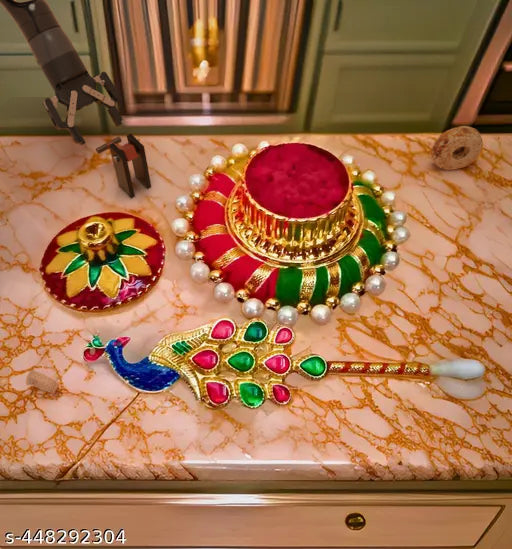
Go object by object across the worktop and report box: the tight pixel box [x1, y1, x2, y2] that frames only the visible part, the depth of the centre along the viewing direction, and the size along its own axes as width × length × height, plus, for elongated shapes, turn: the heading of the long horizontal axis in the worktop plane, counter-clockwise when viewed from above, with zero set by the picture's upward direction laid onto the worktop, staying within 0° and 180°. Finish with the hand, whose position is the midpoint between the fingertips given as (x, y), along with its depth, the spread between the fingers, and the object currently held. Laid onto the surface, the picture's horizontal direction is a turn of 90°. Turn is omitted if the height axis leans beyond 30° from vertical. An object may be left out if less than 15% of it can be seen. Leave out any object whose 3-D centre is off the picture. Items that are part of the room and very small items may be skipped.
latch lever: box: [95, 136, 138, 163], centre depth 113 cm, size 11×6×2 cm, turn 41°
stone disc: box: [430, 125, 484, 171], centre depth 122 cm, size 10×4×10 cm, turn 98°
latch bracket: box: [109, 133, 152, 200], centre depth 114 cm, size 11×8×13 cm
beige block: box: [25, 369, 60, 394], centre depth 93 cm, size 3×5×5 cm, turn 70°
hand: (101, 134), depth 116 cm, fingers open, 8 cm apart
